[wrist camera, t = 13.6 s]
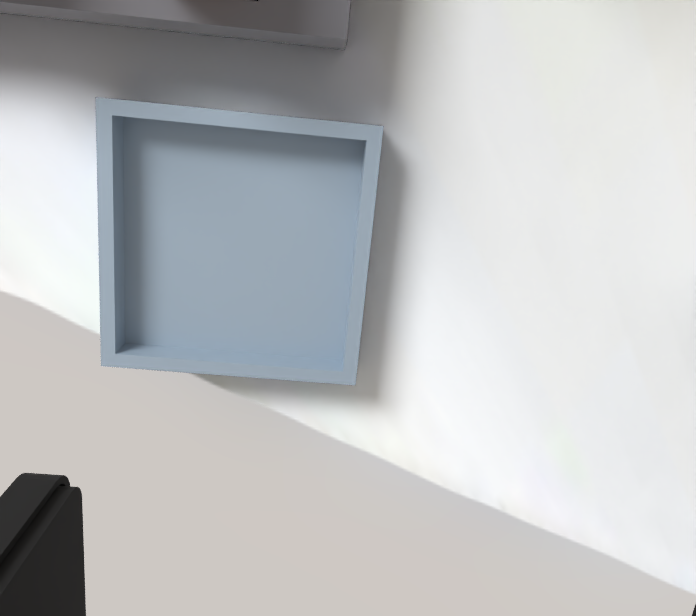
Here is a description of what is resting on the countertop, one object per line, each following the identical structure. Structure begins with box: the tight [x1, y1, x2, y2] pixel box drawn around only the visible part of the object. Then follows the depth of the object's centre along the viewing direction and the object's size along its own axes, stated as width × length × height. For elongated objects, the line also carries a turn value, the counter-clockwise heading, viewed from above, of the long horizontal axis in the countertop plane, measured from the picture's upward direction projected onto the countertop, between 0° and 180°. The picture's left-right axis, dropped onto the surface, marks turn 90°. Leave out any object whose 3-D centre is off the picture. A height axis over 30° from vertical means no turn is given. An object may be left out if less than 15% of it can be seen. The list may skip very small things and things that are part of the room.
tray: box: [96, 97, 384, 385], centre depth 35 cm, size 15×15×3 cm
